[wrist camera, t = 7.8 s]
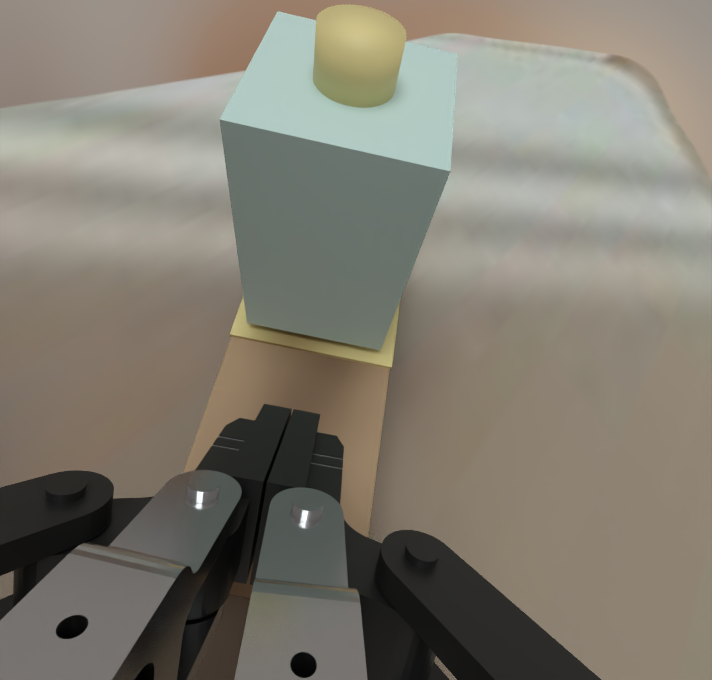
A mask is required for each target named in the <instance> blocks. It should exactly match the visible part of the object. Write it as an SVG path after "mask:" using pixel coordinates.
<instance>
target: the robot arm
mask: <svg viewBox="0 0 712 680" xmlns="http://www.w3.org/2000/svg"><path fill="white" fill-rule="evenodd" d="M291 412H292V409H291V408H285V407H280V406H275V405H269V404H264V405H263V407H262V408H261V410H260V412H259V414H258V416H257V418H256V419H255V420H249V419H244V418H238V419H237V420H235V421H233V422H231V423H229V424H227V425H226V426H225V427H224V428H223V430H222V431H221V433H220V434H219V437H217V439H216V440H215V442H214V443H213V446H211V447H210V449H209V450H208V452H207V453H206V455H205V456H204V458H203V459H202V461H201V462H200V464H199V465H198V466H197V468H196V469H195V471H189V472H185V473H182V474H179V475H177V476H175V477H173V478H172V479H170V480H169V481H168V482H167V483H166V484H165V485H164V486H163V487H162V489H161V490H160V491H159V492H158V493H157V494H156V495H155V496H154V497H146V498H120V499H113V491H114V487H113V484H112V482H111V481H110V480H109V479H108V478H107V477H105V476H103V475H101V474H98V473H94V472H90V471H64V472H58V473H54V474H49V475H46V476H42V477H38V478H34V479H31V480H27V481H23V482H20V483H16V484H12V485H8V486H5V487H1V488H0V576H1V575H3V574H6V573H8V572H11V571H13V570H14V591H13V594H12V595H10V596H8V597H5V598H3V599H1V600H0V680H194V679H195V676H196V674H197V672H198V670H199V668H200V665H201V663H202V661H203V659H204V656H205V654H206V652H207V650H208V647H209V645H210V643H211V641H212V638H213V636H214V634H215V632H216V630H217V627H218V625H219V623H220V621H221V618H222V615H223V609H224V603H225V601H226V600H227V598H228V596H229V593H230V590H231V587H232V585H233V582H237V583H243V584H246V583H247V580H248V577H249V574H250V570H251V567H252V564H253V567H252V573H251V579H250V585H253V588H252V593H251V598H250V603H249V608H248V613H247V618H246V623H245V629H244V634H243V639H242V644H241V649H240V654H239V659H238V664H237V669H236V674H235V679H234V680H449V679H448V678H447V676H446V675H445V674H444V673H443V672H442V671H441V669H440V668H439V667H438V666H437V665H436V664H435V663H434V659H435V656H437V657H438V658H439V659H440V660H441V662H442V663H443V664H444V665H445V666H446V667H447V668H448V670H449V671H450V672H451V673H452V674H453V675H454V676H455V678H456V679H457V680H601V679H600V678H599V677H598V676H596V675H595V674H594V673H593V672H592V671H591V670H589V669H588V668H587V667H586V666H585V665H584V664H583V663H581V662H580V661H579V660H578V659H577V658H576V657H574V656H573V655H572V654H571V653H570V652H569V651H568V650H566V649H565V648H564V647H563V646H562V645H561V644H559V643H558V642H557V641H556V640H555V639H554V638H553V637H551V636H550V635H549V634H548V633H547V632H546V631H544V630H543V629H542V628H541V627H540V626H539V625H538V624H536V623H535V622H534V621H533V620H532V619H531V618H529V617H528V616H527V615H526V614H525V613H524V612H523V611H521V610H520V609H519V608H518V607H517V606H516V605H514V604H513V603H512V602H511V601H510V600H509V599H508V598H506V597H505V596H504V595H503V594H502V593H501V592H499V591H498V590H497V589H496V588H495V587H494V586H493V585H491V584H490V583H489V582H488V581H487V580H486V579H484V578H483V577H482V576H481V575H480V574H479V573H478V572H476V571H475V570H474V569H473V568H472V567H471V566H469V565H468V564H467V563H466V562H465V561H464V560H463V559H461V558H460V557H459V556H458V555H457V554H456V553H454V552H453V551H452V550H451V549H450V548H449V547H448V546H446V545H445V544H444V543H443V542H441V541H440V540H438V539H436V538H435V537H432V536H430V535H428V534H425V533H422V532H419V531H413V530H400V531H396V532H393V533H391V534H389V535H388V536H387V537H386V538H385V539H384V540H383V543H382V544H381V543H379V542H377V541H374V540H372V539H370V538H367V537H365V536H363V535H361V534H360V533H358V532H357V531H355V530H354V529H353V528H352V527H350V526H349V525H348V523H347V522H346V521H345V520H344V514H343V510H342V507H341V506H340V500H341V485H342V468H343V455H344V446H343V444H342V443H341V441H340V440H339V438H338V437H337V436H335V435H330V434H325V433H319V432H317V430H318V425H319V420H320V414H318V413H312V412H307V411H302V410H296V409H294V410H293V412H292V415H291Z"/></svg>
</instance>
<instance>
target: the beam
mask: <svg viewBox="0 0 712 680" xmlns="http://www.w3.org/2000/svg"><path fill="white" fill-rule="evenodd" d="M399 306H400V302H399V304H398V307H397V309H396V312H395V315H394V317H393V320H392V322H391V325H390V327H389V330H388V333H387V335H386V338H385V340H384V343H383V345H382V348H381V350H376V349H372V348H367V347H362V346H357V345H352V344H347V343H342V342H338V341H333V340H328V339H323V338H318V337H313V336H308V335H304V334H299V333H294V332H289V331H284V330H279V329H274V328H270V327H265V326H260V325H255V324H250V323H247V319H246V312H245V304H244V297H243V299H242V301H241V304H240V307H239V310H238V312H237V315H236V318H235V321H234V324H233V326H232V329H231V332H230V337H231V339H230V342H229V345H228V348H227V350H226V353H225V356H224V359H223V362H222V364H221V367H220V370H219V373H218V376H217V378H216V381H215V384H214V387H213V390H212V392H211V395H210V398H209V401H208V404H207V406H206V409H205V412H204V415H203V418H202V420H201V423H200V426H199V429H198V432H197V435H196V437H195V440H194V443H193V446H192V449H191V451H190V454H189V457H188V460H187V463H186V465H185V468H184V471H183V473H185V472H189V471H195V469H196V468H197V466H198V465H199V464H200V462H201V461H202V459H203V458H204V456H205V455H206V453H207V452H208V450H209V449H210V447H211V446H213V443H214V442H215V440H216V439H217V437H219V434H220V433H221V431H222V430H223V428H224V427H225V426H226V425H227V424H229V423H231V422H233V421H235V420H237V419H238V418H244V419H249V420H255V419H256V418H257V416H258V414H259V412H260V410H261V408H262V407H263V405H264V404H269V405H275V406H280V407H285V408H291V409H292V412H293V410H294V409H296V410H302V411H307V412H312V413H318V414H320V420H319V425H318V430H317V432H319V433H325V434H330V435H335V436H337V437H338V438H339V440H340V441H341V443H342V444H343V446H344V455H343V468H342V485H341V500H340V506H341V507H342V510H343V514H344V520H345V521H346V522H347V523H348V525H349V526H350V527H352V528H353V529H354V530H355V531H357V532H358V533H360V534H361V535H363V536H365V537H367V538H368V534H369V527H370V519H371V511H372V503H373V495H374V488H375V480H376V472H377V464H378V456H379V449H380V441H381V433H382V425H383V417H384V410H385V402H386V394H387V386H388V378H389V371H390V370H391V368H392V362H393V354H394V346H395V338H396V330H397V322H398V314H399ZM292 412H291V415H292ZM252 567H253V564H252ZM252 567H251V570H250V574H249V577H248V580H247V583H246V584H243V583H237V582H233V585H232V587H231V590H230V593H229V595H234V596H239V597H245V598H251V593H252V588H253V585H250V579H251V573H252Z"/></svg>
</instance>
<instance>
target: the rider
mask: <svg viewBox="0 0 712 680" xmlns="http://www.w3.org/2000/svg"><path fill="white" fill-rule="evenodd" d="M406 36H407V35H406V31H405V29H404V27H403V26H402V25H401V24H400V22H398V21H397V20H396V19H395V18H393V17H392V16H390V15H388V14H386V13H384V12H382V11H380V10H377V9H373V8H370V7H366V6H360V5H347V4H346V5H336V6H332V7H329V8H326V9H324V10H323V11H322V12H320V13H319V14H318V16H317V18H316V20H312V19H308V18H304V17H299V16H295V15H291V14H286V13H282V12H277V14H276V16H275V17H274V19H273V21H272V23H271V25H270V27H269V29H268V30H267V32H266V34H265V36H264V38H263V40H262V42H261V44H260V45H259V47H258V49H257V51H256V53H255V55H254V57H253V59H252V60H251V62H250V64H249V66H248V68H247V70H246V71H245V73H244V75H243V77H242V79H241V81H240V83H239V84H238V86H237V88H236V90H235V92H234V94H233V96H232V97H231V99H230V101H229V103H228V105H227V107H226V109H225V110H224V112H223V114H222V116H221V118H220V126H221V133H222V141H223V148H224V155H225V163H226V170H227V178H228V185H229V193H230V200H231V208H232V215H233V222H234V230H235V237H236V245H237V252H238V260H239V267H240V274H241V282H242V289H243V297H244V304H245V312H246V319H247V323H250V324H255V325H260V326H265V327H270V328H274V329H279V330H284V331H289V332H294V333H299V334H304V335H308V336H313V337H318V338H323V339H328V340H333V341H338V342H342V343H347V344H352V345H357V346H362V347H367V348H372V349H376V350H381V348H382V345H383V343H384V340H385V338H386V335H387V333H388V330H389V327H390V325H391V322H392V320H393V317H394V315H395V312H396V309H397V307H398V304H399V302H400V299H401V297H402V294H403V291H404V289H405V286H406V284H407V281H408V279H409V276H410V274H411V271H412V268H413V266H414V263H415V261H416V258H417V256H418V253H419V250H420V248H421V245H422V243H423V240H424V238H425V235H426V232H427V230H428V227H429V225H430V222H431V220H432V217H433V214H434V212H435V209H436V207H437V204H438V202H439V199H440V196H441V194H442V191H443V189H444V186H445V184H446V181H447V179H448V176H449V173H450V168H451V152H452V137H453V121H454V105H455V90H456V74H457V58H458V54H456V53H452V52H447V51H443V50H439V49H435V48H430V47H426V46H422V45H418V44H414V43H409V42H406Z"/></svg>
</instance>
